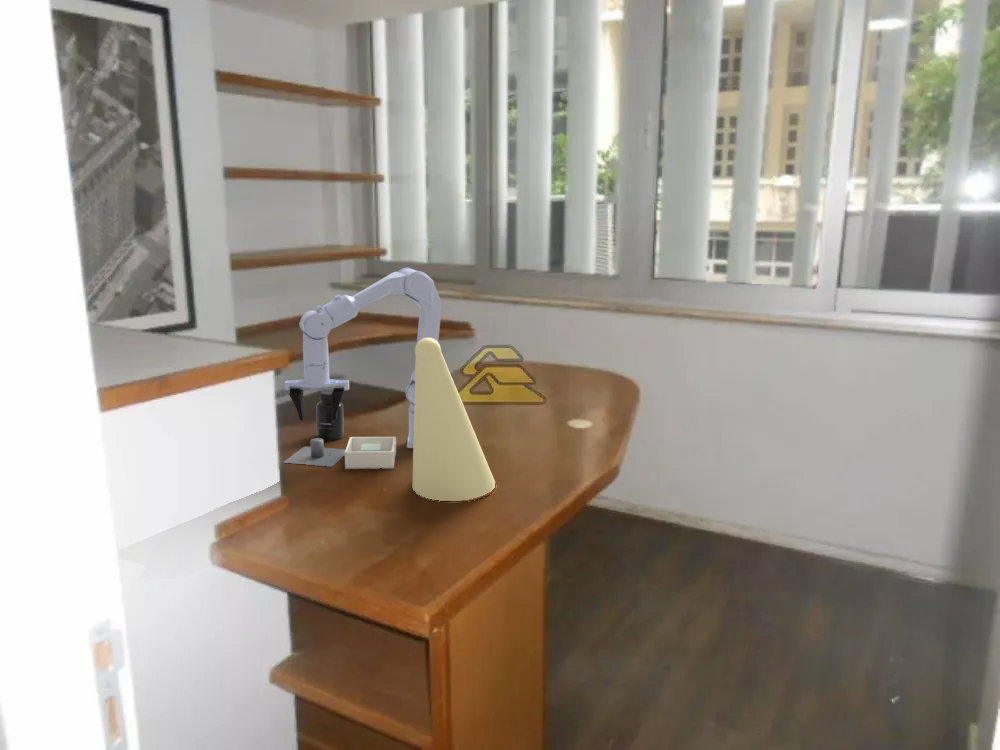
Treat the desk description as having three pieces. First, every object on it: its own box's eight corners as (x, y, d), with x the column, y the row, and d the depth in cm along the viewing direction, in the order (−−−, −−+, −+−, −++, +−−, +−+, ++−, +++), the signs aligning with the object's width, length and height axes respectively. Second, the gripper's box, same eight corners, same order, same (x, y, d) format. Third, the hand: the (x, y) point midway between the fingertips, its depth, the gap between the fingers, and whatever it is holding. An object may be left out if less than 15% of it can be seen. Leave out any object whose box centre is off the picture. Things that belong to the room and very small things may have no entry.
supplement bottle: (320, 442, 190) (318, 396, 188) (314, 434, 196) (312, 390, 193) (347, 438, 194) (345, 393, 191) (339, 431, 199) (338, 387, 197)
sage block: (381, 455, 181) (381, 443, 180) (380, 461, 176) (380, 449, 176) (362, 455, 180) (362, 443, 180) (360, 462, 176) (360, 449, 175)
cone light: (435, 465, 176) (435, 317, 167) (508, 478, 169) (512, 324, 161) (381, 504, 153) (378, 335, 145) (463, 520, 147) (464, 344, 139)
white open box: (396, 452, 184) (395, 436, 183) (393, 468, 174) (393, 451, 173) (350, 452, 183) (350, 437, 182) (345, 468, 173) (344, 452, 172)
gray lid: (350, 452, 185) (350, 434, 184) (331, 469, 174) (331, 449, 173) (304, 449, 187) (303, 430, 186) (283, 465, 176) (281, 446, 175)
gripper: (349, 359, 179) (351, 414, 182) (287, 359, 178) (290, 414, 181) (346, 366, 172) (348, 422, 176) (281, 366, 171) (284, 423, 174)
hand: (318, 419), depth 178 cm, fingers open, 7 cm apart
